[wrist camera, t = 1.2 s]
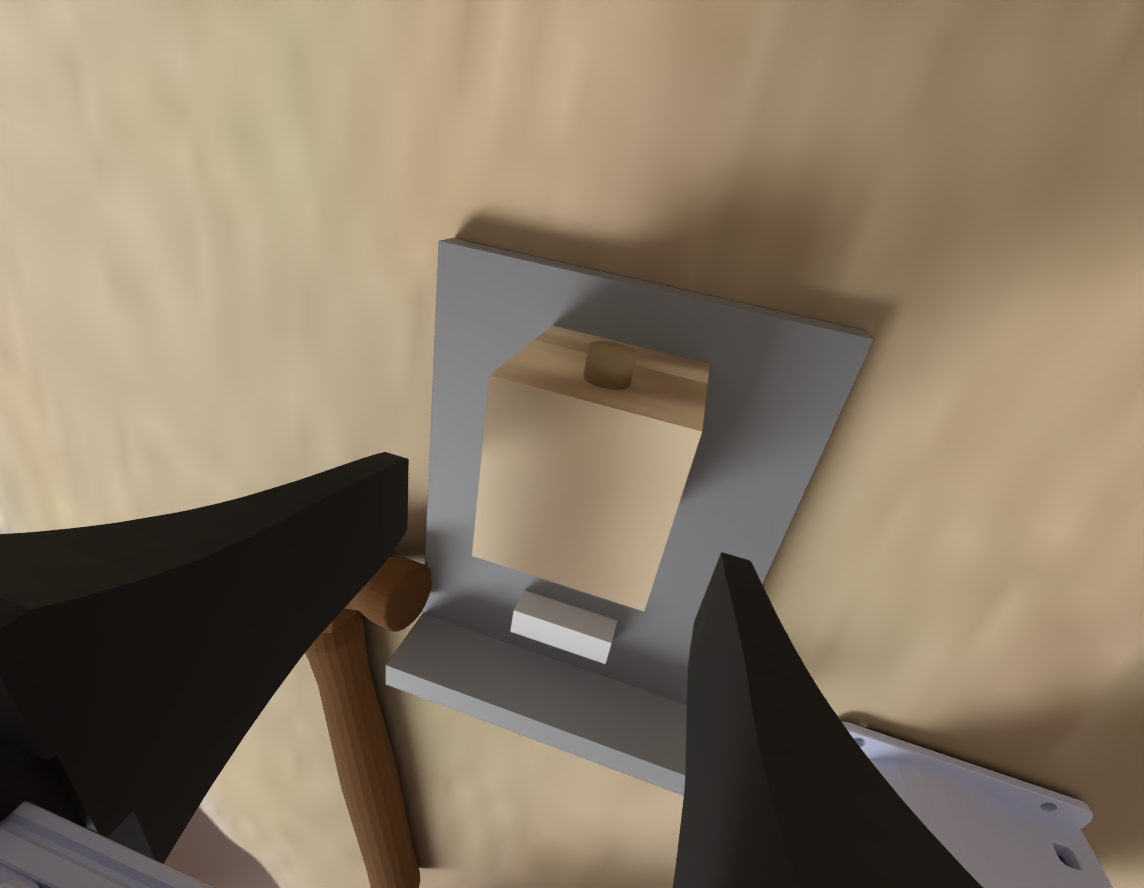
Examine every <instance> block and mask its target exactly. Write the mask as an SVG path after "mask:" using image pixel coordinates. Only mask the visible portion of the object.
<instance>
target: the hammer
mask: <svg viewBox="0 0 1144 888" xmlns="http://www.w3.org/2000/svg"><path fill="white" fill-rule="evenodd" d="M431 586H432V581H431V573H430V570H429V569H428V567H427V566H425V565H423V564H421V563H418V562H416V561H413V560H410V559H407V558H402V557H388V559H387V560H386V562H385V563H384V564H383V566H382V567H381V568H380V569H379V570H378V571H377V573H376V574H375V575H374V576H373V577H372V578H371V579H370V580H369V581H368V583H367V584H366V585H365V586H364V587H363V588H362V589H361V590H360V592H359V593H358V594H357V595H356V596H355V597H354V598H353V599H352V600H351V601H350V603H349V604H348V605H347V606H346V607H345V608H344V609H343V610H342V611H341V612H340V614H339V615H338V616H337V617H336V618H335V619H334V620H333V621H332V622H331V623H330V625H329V626H328V627H327V628H326V629H325V630H324V631H323V632H322V633H321V634H320V636H319V637H318V638H317V639H316V640H315V641H314V642H313V644H312V645H311V646H310V647H309V648H308V650H307V651H306V652H305V654H306V656H307V658H308V660H309V662H310V665H311V668H312V670H313V673H314V676H315V678H316V681H317V684H318V687H319V692H320V696H321V700H322V705H323V709H324V714H325V718H326V722H327V727H328V731H329V736H330V740H331V745H332V749H333V753H334V758H335V762H336V767H337V771H338V775H339V780H340V784H341V789H342V792H343V795H344V798H345V801H346V805H347V808H348V811H349V814H350V818H351V821H352V824H353V827H354V831H355V834H356V837H357V840H358V843H359V847H360V850H361V853H362V856H363V860H364V863H365V866H366V869H367V874H368V878H369V882H370V886H371V888H419V884H420V872H419V868H418V864H417V860H416V856H415V852H414V849H413V845H412V840H411V835H410V830H409V825H408V820H407V815H406V810H405V805H404V800H403V795H402V790H401V785H400V780H399V776H398V771H397V766H396V762H395V758H394V754H393V751H392V747H391V744H390V740H389V736H388V733H387V729H386V726H385V722H384V719H383V715H382V711H381V708H380V704H379V701H378V697H377V694H376V690H375V686H374V683H373V679H372V676H371V672H370V669H369V664H368V657H367V650H366V643H365V635H364V621H363V617H362V615H361V613H362V614H363V615H364V616H366V617H367V618H368V619H369V620H370V621H372V622H373V623H375V624H377V625H379V626H381V627H383V628H385V629H387V630H389V631H393V632H397V631H400V630H402V629H405V628H406V627H407V626H409V625H410V624H411V623H412V622H413V621H414V620H415V619H416V618H417V617H418V616H419V614H420V613H421V612H422V610H423V608H424V607H425V605H426V603H427V600H428V598H429V595H430V591H431ZM359 611H360V612H361V613H360V612H359Z"/></svg>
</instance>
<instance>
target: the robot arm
mask: <svg viewBox="0 0 1144 888" xmlns="http://www.w3.org/2000/svg"><path fill="white" fill-rule="evenodd" d="M408 464H409V459H407V458H404V457H400V456H397V455H393V454H390V453H387V452H383V453H379V454H375V455H372V456H369V457H365V458H362V459H359V460H356V461H353V462H350V463H347V464H345V465H342V466H339V467H336V468H333V469H330V470H327V471H324V472H321V473H318V474H315V475H312V476H310V477H307V478H304V479H301V480H298V481H295V482H291V483H288V484H285V485H282V486H278V487H275V488H272V489H268V490H265V491H262V492H258V493H255V494H252V495H249V496H245V497H241V498H238V499H234V500H230V501H226V502H222V503H218V504H214V505H209V506H205V507H200V508H196V509H192V510H187V511H182V512H177V513H171V514H166V515H160V516H154V517H148V518H142V519H136V520H130V521H124V522H118V523H111V524H103V525H96V526H88V527H80V528H70V529H60V530H50V531H40V532H28V533H13V534H0V888H214V887H211V886H209V885H207V884H205V883H203V882H201V881H198V880H196V879H194V878H192V877H190V876H188V875H185V874H183V873H181V872H179V871H177V870H174V869H172V868H170V867H168V866H166V865H164V862H165V860H166V859H167V857H168V855H169V854H170V852H171V850H172V849H173V847H174V845H175V844H176V842H177V840H178V839H179V837H180V836H181V834H182V832H183V831H184V829H185V828H186V826H187V824H188V823H189V821H190V819H191V818H192V816H193V815H194V813H195V811H196V810H197V808H198V807H199V805H200V803H201V802H202V800H203V798H204V797H205V795H206V794H207V792H208V790H209V789H210V787H211V786H212V784H213V783H214V781H215V780H216V778H217V777H218V775H219V774H220V772H221V771H222V769H223V768H224V766H225V765H226V763H227V762H228V760H229V759H230V757H231V756H232V754H233V753H234V751H235V750H236V748H237V746H238V745H239V743H240V742H241V740H242V739H243V737H244V736H245V735H246V733H247V732H248V730H249V729H250V727H251V726H252V725H253V723H254V722H255V720H256V719H257V717H258V716H259V715H260V713H261V712H262V710H263V709H264V708H265V706H266V705H267V703H268V702H269V700H270V699H271V698H272V696H273V695H274V693H275V692H276V691H277V689H278V688H279V687H280V685H281V684H282V683H283V681H284V680H285V679H286V677H287V676H288V674H289V673H290V672H291V670H292V669H293V668H294V666H295V665H296V664H297V662H298V661H299V660H300V658H301V657H302V656H303V654H304V653H305V652H306V651H307V650H308V648H309V647H310V646H311V645H312V644H313V642H314V641H315V640H316V639H317V638H318V637H319V636H320V634H321V633H322V632H323V631H324V630H325V629H326V628H327V627H328V626H329V625H330V623H331V622H332V621H333V620H334V619H335V618H336V617H337V616H338V615H339V614H340V612H341V611H342V610H343V609H344V608H345V607H346V606H347V605H348V604H349V603H350V601H351V600H352V599H353V598H354V597H355V596H356V595H357V594H358V593H359V592H360V590H361V589H362V588H363V587H364V586H365V585H366V584H367V583H368V581H369V580H370V579H371V578H372V577H373V576H374V575H375V574H376V573H377V571H378V570H379V569H380V568H381V567H382V566H383V564H384V563H385V562H386V560H387V559H388V557H389V556H390V555H391V553H392V552H393V550H394V549H395V547H396V546H397V544H398V543H399V541H400V540H401V538H402V537H403V535H404V534H405V532H406V531H407V517H408ZM1092 819H1093V813H1092V812H1091V810H1090V808H1089V807H1088V805H1087V804H1086V803H1084V802H1082V801H1080V800H1078V799H1075V798H1072V797H1069V796H1066V795H1063V794H1060V793H1057V792H1054V791H1051V790H1048V789H1045V788H1042V787H1039V786H1036V785H1033V784H1030V783H1027V782H1024V781H1021V780H1018V779H1015V778H1012V777H1009V776H1006V775H1003V774H1000V773H997V772H994V771H991V770H988V769H985V768H982V767H979V766H976V765H973V764H971V763H968V762H965V761H962V760H959V759H956V758H953V757H950V756H947V755H944V754H941V753H938V752H935V751H932V750H929V749H926V748H923V747H920V746H917V745H914V744H911V743H908V742H905V741H902V740H899V739H896V738H893V737H890V736H887V735H884V734H881V733H878V732H875V731H872V730H869V729H866V728H863V727H861V726H858V725H855V724H852V723H849V722H844V721H841V720H840V719H839V718H838V716H837V715H836V713H835V712H834V711H833V709H832V708H831V706H830V705H829V703H828V702H827V700H826V699H825V697H824V696H823V694H822V693H821V691H820V690H819V688H818V687H817V685H816V683H815V682H814V680H813V679H812V677H811V675H810V674H809V672H808V670H807V669H806V667H805V665H804V664H803V662H802V660H801V658H800V657H799V655H798V653H797V651H796V650H795V648H794V646H793V644H792V642H791V640H790V639H789V637H788V635H787V633H786V631H785V629H784V627H783V626H782V624H781V622H780V620H779V618H778V616H777V614H776V612H775V610H774V608H773V606H772V604H771V602H770V600H769V598H768V595H767V593H766V591H765V589H764V587H763V585H762V583H761V581H760V578H759V576H758V574H757V572H756V570H755V568H754V566H753V564H752V562H751V561H750V560H747V559H743V558H740V557H737V556H733V555H730V554H727V553H723V552H721V554H720V556H719V559H718V562H717V564H716V567H715V569H714V572H713V574H712V577H711V579H710V582H709V585H708V587H707V590H706V592H705V595H704V597H703V600H702V602H701V605H700V608H699V610H698V613H697V615H696V618H695V620H694V626H693V632H692V639H691V646H690V653H689V660H688V675H687V718H686V768H685V787H684V800H683V809H682V818H681V826H680V835H679V844H678V852H677V860H676V868H675V876H674V884H673V888H1113V887H1112V885H1111V883H1110V881H1109V880H1108V878H1107V876H1106V874H1105V872H1104V870H1103V869H1102V867H1101V865H1100V863H1099V861H1098V859H1097V858H1096V856H1095V854H1094V852H1093V850H1092V848H1091V846H1090V845H1089V843H1088V841H1087V839H1086V837H1085V835H1084V834H1083V832H1082V830H1081V829H1082V828H1084V827H1085V826H1086V825H1087V824H1088V823H1090V822H1091V820H1092Z"/></svg>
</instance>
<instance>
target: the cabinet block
mask: <svg viewBox="0 0 1144 888" xmlns="http://www.w3.org/2000/svg"><path fill="white" fill-rule="evenodd" d="M709 367H710V364H708V363H704V362H700V361H696V360H692V359H688V358H684V357H679V356H675V355H671V354H667V353H663V352H659V351H655V350H651V349H647V348H643V347H639V346H634V345H630V344H626V343H622V342H618V341H614V340H610V339H606V338H602V337H598V336H594V335H590V334H585V333H581V332H577V331H573V330H569V329H565V328H561V327H557V326H553V325H552V326H551V327H550V328H548V329H547V330H546V331H545V332H543V333H542V334H541V335H539V336H538V337H537V338H536V339H534V340H533V341H532V342H531V343H529V344H528V345H527V346H526V347H524V348H523V349H522V350H521V351H519V352H518V353H517V354H516V355H514V356H513V357H512V358H511V359H509V360H508V361H507V362H505V363H504V364H503V365H502V366H500V367H499V368H498V369H497V370H495V371H494V372H493V373H492V374H490V375H489V385H488V396H487V406H486V416H485V426H484V436H483V447H482V457H481V467H480V477H479V488H478V498H477V508H476V518H475V529H474V539H473V549H472V556H474V557H477V558H480V559H483V560H486V561H489V562H493V563H496V564H499V565H502V566H505V567H508V568H511V569H514V570H517V571H520V572H523V573H527V574H530V575H533V576H536V577H539V578H542V579H545V580H548V581H551V582H554V583H557V584H561V585H564V586H567V587H570V588H573V589H576V590H579V591H582V592H585V593H588V594H591V595H594V596H598V597H601V598H604V599H607V600H610V601H613V602H616V603H619V604H622V605H625V606H628V607H632V608H635V609H638V610H641V611H645V608H646V605H647V601H648V598H649V595H650V592H651V589H652V586H653V583H654V580H655V577H656V573H657V570H658V567H659V564H660V561H661V558H662V555H663V552H664V549H665V545H666V542H667V539H668V536H669V533H670V530H671V527H672V524H673V521H674V518H675V514H676V511H677V508H678V505H679V502H680V499H681V496H682V493H683V490H684V486H685V483H686V480H687V477H688V474H689V471H690V468H691V465H692V462H693V459H694V455H695V452H696V449H697V446H698V443H699V440H700V437H701V434H702V429H703V420H704V411H705V402H706V393H707V384H708V375H709Z"/></svg>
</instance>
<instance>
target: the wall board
mask: <svg viewBox="0 0 1144 888" xmlns="http://www.w3.org/2000/svg"><path fill="white" fill-rule="evenodd" d="M552 325H553V326H557V327H561V328H565V329H569V330H573V331H577V332H581V333H585V334H590V335H594V336H598V337H602V338H606V339H610V340H614V341H618V342H622V343H626V344H630V345H634V346H639V347H643V348H647V349H651V350H655V351H659V352H663V353H667V354H671V355H675V356H679V357H684V358H688V359H692V360H696V361H700V362H704V363H708V364H710V367H709V375H708V384H707V393H706V402H705V411H704V420H703V429H702V434H701V437H700V440H699V443H698V446H697V449H696V452H695V455H694V459H693V462H692V465H691V468H690V471H689V474H688V477H687V480H686V483H685V486H684V490H683V493H682V496H681V499H680V502H679V505H678V508H677V511H676V514H675V518H674V521H673V524H672V527H671V530H670V533H669V536H668V539H667V542H666V545H665V549H664V552H663V555H662V558H661V561H660V564H659V567H658V570H657V573H656V577H655V580H654V583H653V586H652V589H651V592H650V595H649V598H648V601H647V605H646V608H645V611H641V610H638V609H635V608H632V607H628V606H625V605H622V604H619V603H616V602H613V601H610V600H607V599H604V598H601V597H598V596H594V595H591V594H588V593H585V592H582V591H579V590H576V589H573V588H570V587H567V586H564V585H561V584H557V583H554V582H551V581H548V580H545V579H542V578H539V577H536V576H533V575H530V574H527V573H523V572H520V571H517V570H514V569H511V568H508V567H505V566H502V565H499V564H496V563H493V562H489V561H486V560H483V559H480V558H477V557H474V556H472V549H473V539H474V529H475V518H476V508H477V498H478V488H479V477H480V467H481V457H482V447H483V436H484V426H485V416H486V406H487V396H488V385H489V375H490V374H492V373H493V372H494V371H495V370H497V369H498V368H499V367H500V366H502V365H503V364H504V363H505V362H507V361H508V360H509V359H511V358H512V357H513V356H514V355H516V354H517V353H518V352H519V351H521V350H522V349H523V348H524V347H526V346H527V345H528V344H529V343H531V342H532V341H533V340H534V339H536V338H537V337H538V336H539V335H541V334H542V333H543V332H545V331H546V330H547V329H548V328H550V327H551V326H552ZM873 340H874V339H873V338H872V337H871V336H870V335H869V334H868V333H867V332H866V331H865V330H861V329H856V328H852V327H847V326H843V325H838V324H834V323H830V322H825V321H821V320H816V319H812V318H807V317H803V316H798V315H794V314H789V313H785V312H781V311H776V310H772V309H767V308H763V307H758V306H754V305H749V304H745V303H740V302H736V301H732V300H727V299H723V298H718V297H714V296H709V295H705V294H700V293H696V292H692V291H687V290H683V289H678V288H674V287H669V286H665V285H660V284H656V283H651V282H647V281H643V280H638V279H634V278H629V277H625V276H620V275H616V274H611V273H607V272H602V271H598V270H594V269H589V268H585V267H580V266H576V265H571V264H567V263H562V262H558V261H553V260H549V259H545V258H540V257H536V256H531V255H527V254H522V253H518V252H513V251H509V250H504V249H500V248H496V247H491V246H487V245H482V244H478V243H473V242H469V241H464V240H460V239H455V238H451V239H446V240H441V241H439V246H438V269H437V293H436V316H435V339H434V363H433V386H432V409H431V433H430V456H429V480H428V503H427V526H426V550H425V566H427V567H428V569H429V570H430V573H431V581H432V586H431V591H430V595H429V598H428V600H427V603H426V605H425V607H424V608H423V614H422V615H421V617H420V618H419V619H418V621H417V622H416V624H415V625H414V626H413V628H412V629H411V630H410V632H409V633H408V635H407V636H406V637H405V639H404V640H403V642H402V643H401V644H400V646H399V647H398V649H397V650H396V651H395V653H394V654H393V656H392V657H391V658H390V660H389V661H388V663H387V664H386V685H389V686H392V687H394V688H397V689H400V690H402V691H405V692H408V693H410V694H413V695H416V696H418V697H421V698H424V699H426V700H429V701H432V702H434V703H437V704H440V705H442V706H445V707H448V708H450V709H453V710H456V711H458V712H461V713H464V714H466V715H469V716H472V717H474V718H477V719H480V720H482V721H485V722H488V723H490V724H493V725H496V726H498V727H501V728H504V729H506V730H509V731H512V732H514V733H517V734H520V735H522V736H525V737H528V738H530V739H533V740H536V741H538V742H541V743H544V744H546V745H549V746H552V747H554V748H557V749H560V750H562V751H565V752H568V753H570V754H573V755H576V756H578V757H581V758H584V759H586V760H589V761H592V762H595V763H597V764H600V765H603V766H605V767H608V768H611V769H613V770H616V771H619V772H621V773H624V774H627V775H629V776H632V777H635V778H637V779H640V780H643V781H645V782H648V783H651V784H653V785H656V786H659V787H661V788H664V789H667V790H669V791H672V792H675V793H677V794H680V795H683V796H684V787H685V768H686V718H687V675H688V660H689V653H690V646H691V639H692V632H693V626H694V620H695V618H696V615H697V613H698V610H699V608H700V605H701V602H702V600H703V597H704V595H705V592H706V590H707V587H708V585H709V582H710V579H711V577H712V574H713V572H714V569H715V567H716V564H717V562H718V559H719V556H720V554H721V552H723V553H727V554H730V555H733V556H737V557H740V558H743V559H747V560H750V561H751V562H752V564H753V566H754V568H755V570H756V572H757V574H758V576H759V578H760V581H761V583H762V584H763V582H764V580H765V577H766V575H767V573H768V571H769V569H770V566H771V564H772V562H773V560H774V558H775V555H776V553H777V551H778V549H779V547H780V544H781V542H782V540H783V538H784V536H785V533H786V531H787V529H788V527H789V525H790V522H791V520H792V518H793V516H794V514H795V511H796V509H797V507H798V505H799V503H800V500H801V498H802V496H803V494H804V492H805V489H806V487H807V485H808V483H809V481H810V478H811V476H812V474H813V472H814V470H815V467H816V465H817V463H818V461H819V459H820V456H821V454H822V452H823V450H824V448H825V446H826V443H827V441H828V439H829V437H830V435H831V432H832V430H833V428H834V426H835V424H836V421H837V419H838V417H839V415H840V413H841V410H842V408H843V406H844V404H845V402H846V399H847V397H848V395H849V393H850V391H851V388H852V386H853V384H854V382H855V380H856V377H857V375H858V373H859V371H860V369H861V366H862V364H863V362H864V360H865V358H866V355H867V353H868V351H869V349H870V347H871V344H872V342H873Z"/></svg>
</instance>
